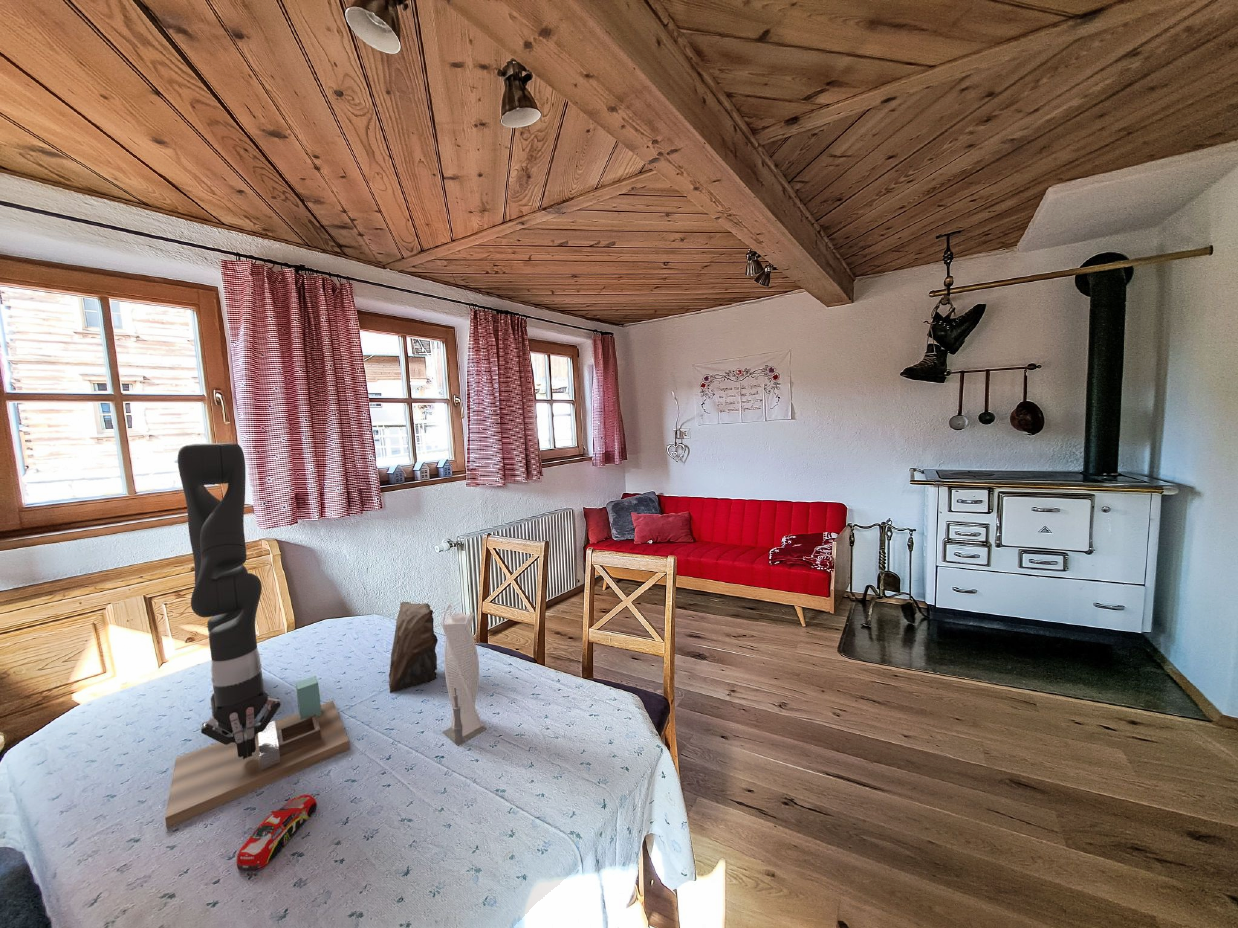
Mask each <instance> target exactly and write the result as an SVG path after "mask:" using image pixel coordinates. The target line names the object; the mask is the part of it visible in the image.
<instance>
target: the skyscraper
mask: <svg viewBox="0 0 1238 928" xmlns="http://www.w3.org/2000/svg"><path fill="white" fill-rule="evenodd" d="M444 610H445V611H444V612H443V615H442V619H441V626H442V627H441V628H442V630H443V634H444V635H445V642H444V653H443V654H444V655H443V657H444V659H443V660H444V662H443V663H444V672H445V673H444V674H445V681H446V689H447V693H448V696H449V702H450V706H451V709H452V714H451V715H452V716H451V721H450V727H449V728H447V729H445V730H443V731H442V733H443V735H444V736H446V737H447V738H448V739H449V740H450V741H452V743H453V744H454V745H455V746H457V747H460V746H461V745H463V744H465V743H467V741H470V740H471V739H473V738H475V737H476V736H479V735H480V734H482V733H483V732H485V731H487V730H488V728H487V727H485V726H484V725H483V722H482V720H481V718H480V715H479V712H478V709H476V701H477V697H478V691H479V690H478V689H479V681H480V661H479V654H478V653H479V652H478V648H477V646H476V641H475V639H474V636H473V633H472V631H471V630H472V624H473V620H474V616H475V613H474V611H471V612H470V613H469V614H464V613H462V612H456V613H454V614H452V605H451V604H449V605H448V606H447V607H446V609H444ZM448 610H449V612H448ZM447 612H448V618H447V619H446V615H447ZM445 619H446V620H445Z"/></svg>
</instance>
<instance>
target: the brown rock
mask: <svg viewBox="0 0 1238 928" xmlns="http://www.w3.org/2000/svg"><path fill="white" fill-rule="evenodd" d="M433 614H434V610H433V609H431V606H430V604H429V603H426V602H424V603H420V602H419V603H411V602H409V601H401V602H400V604H399V610H398V614H397V617H396V622H395V623H396V624H395V630H394V637H393V644H392V648H391V654H390V664H389V666H390V667H389V673H388V679H389V681H388V685H389V693H390V694H392V693H395V692H399V691H402V690H406V689H409V688H413V687H418V686H420V685H423V684H424V685H425V684H430V683H432V682H434V681H436V680H437V679H438V675H437V672H436V671H437V669H438V656H437V652H436V647H437V644H438V642H439V639H438V637H437V635H436V634H435V630H434V616H433Z"/></svg>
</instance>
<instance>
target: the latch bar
mask: <svg viewBox="0 0 1238 928" xmlns="http://www.w3.org/2000/svg"><path fill="white" fill-rule="evenodd" d="M275 721H276V720H273V721H272V720H271V721H270V722H269V724H268V725H267V727H266V728H265V730H264V731H262V732H259V733H258V739H259V750H260V760H261V768H262V770H263V769H266V768H268V767H271V766H273V765H276V764H278V763H280V762H281V761H280V753H279V745H278V739H277V732H276V725H275Z"/></svg>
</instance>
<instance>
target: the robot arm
mask: <svg viewBox="0 0 1238 928" xmlns="http://www.w3.org/2000/svg"><path fill="white" fill-rule="evenodd" d="M244 454H245V453H244V450H243V448H242V447H241V445H240V444H238V443H234V442H211V443H210V442H209V443H208V442H207V443H189V444H184V445H182V446H181V447H180V448H179V450H178V453H177V468H178V473H179V476H180V481H181V485H182V489H183V494H184V498H185V502H186V510H187V523H188V524H187V525H188V526H187V527H188V535H189V541H190V542H189V543H190V547H191V552H192V555H193V564H194V567H193V568H194V588H193V590H192V594H191V598H190V606H191V610H192V611H193V613H194V614H195V615H197V616H198V617H201V618H209V619H208V620H207V623H206V624H207V631H208V642H209V650H210V651H209V652H210V658H211V665H210V666H211V667H210V668H211V669H210V672H211V678H210V679H211V682H212V687H213V693H214V697H215V705H216V708H215V710H214V712H213V717H212V716H211V718H209V720H207V721H204V722H202V724H201V728H200V733H201V734H203V735H205V736H206V737H208V738H211V739H212V740H215V741H217V742H221V743H223V744H225V745H228V744H230V743H236V744H237V752H238V756H239V758H240V757H243V759H245V758H248V757H250V756H252V753H253V752H255V750H256V744H255V735H256V734H258V733H259V732H262V731H264V730H265V728H266V727H267V725H268V724H269V723H270V722H272V720H273V717H274V716H275V715H276V713H277V712H278V710H279V709H280V707H281V706H282V705H281V700H280V697H275V698H272V697H268V696H269V695H268V694H267V692H266V691H265V687H264V681H263V672H262V671H263V670H262V662H261V656H260V652H259V648H258V643H257V635H256V620H257V619H256V617H257V612H258V607H259V602H260V599H261V595H262V589H263V588H262V581H261V579H260V578H259V577H258V575H256V574H254V573H251V572H248V570H247V569H248V568H246V566H245V563H246V561H247V546H246V537H245V524H244V521H245V520H244V519H245V518H244V516H245V503H246V475H247V474H246V458H245V455H244ZM222 484H225V485H227V488H226V491H225V494H224V495H223V497H222V498H221V499H218V498H217V497H215V495H213V494H212V493H211V492H210V491H209V490H208V489H207V488H206V486H208V485H209V486H210V485H211V486H212V485H222ZM264 707H265V711H264V713H263V714H262V716H261V717H260V719H259V720H258V722H257V723H256V724H255V719H257V718H258V716H259V715H260V713H261V711H262V710H263V709H264ZM217 721H219V722H221V723H223V724H224V725H226V726H228V727H232V729H233V733H230V732H228V731H226V730H224V729H222V728H220V727H218V722H217ZM243 723H246V726H245V731H246V738H245V736H244V733H245V732H244V730H243V729H244V728H242V725H241V724H243ZM247 755H248V757H247Z"/></svg>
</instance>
